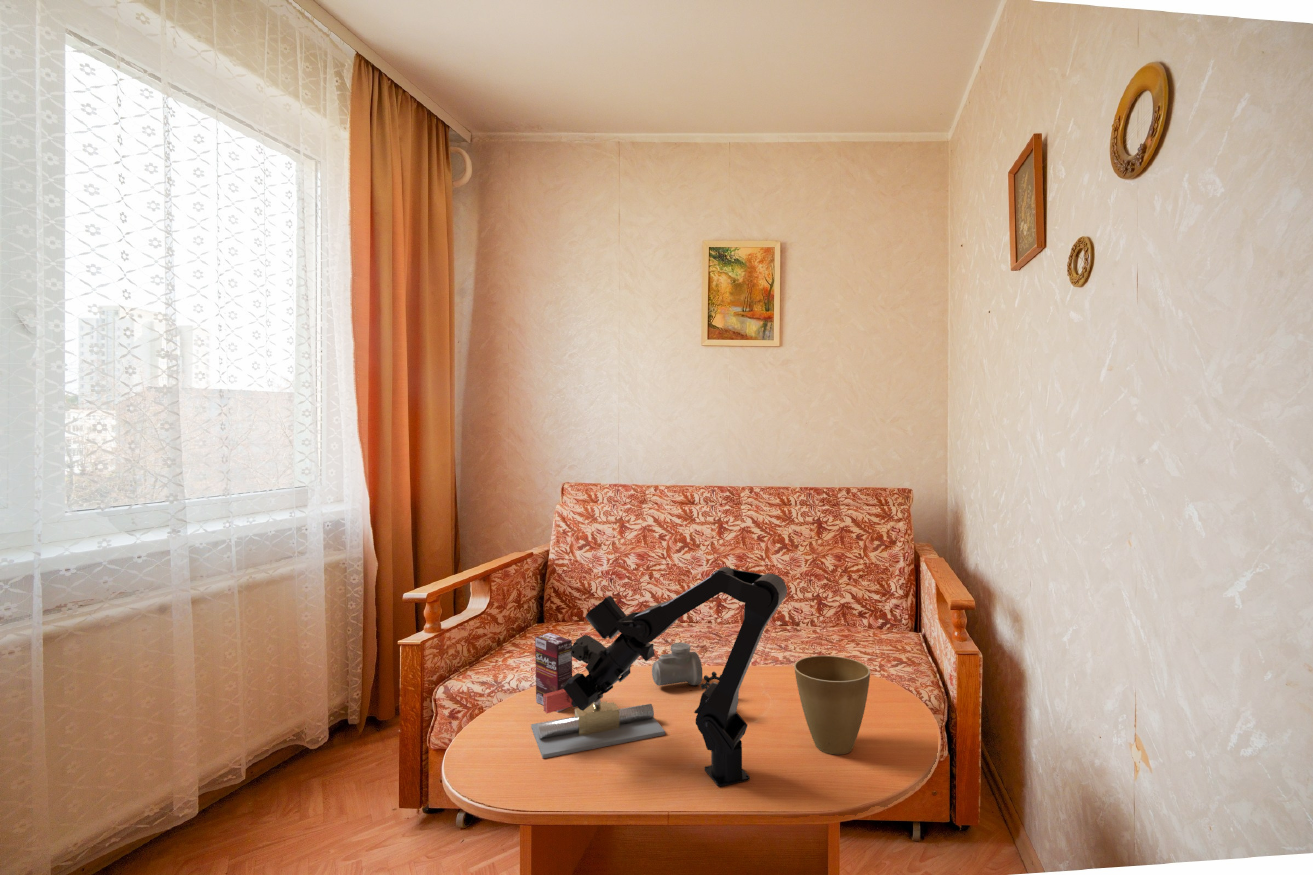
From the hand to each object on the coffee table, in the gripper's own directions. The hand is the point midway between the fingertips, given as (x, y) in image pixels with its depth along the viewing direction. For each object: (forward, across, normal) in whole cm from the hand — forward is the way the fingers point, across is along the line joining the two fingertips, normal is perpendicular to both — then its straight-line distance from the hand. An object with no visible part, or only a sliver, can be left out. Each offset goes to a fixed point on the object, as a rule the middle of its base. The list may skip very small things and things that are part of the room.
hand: (575, 703), depth 130 cm
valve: (-9, -26, +22) cm, 36 cm away
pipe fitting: (0, -35, +12) cm, 37 cm away
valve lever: (+1, -1, 0) cm, 2 cm away
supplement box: (+16, -14, -5) cm, 22 cm away
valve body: (+5, -6, +7) cm, 10 cm away
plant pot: (-28, -19, +41) cm, 53 cm away
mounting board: (+5, -6, +7) cm, 10 cm away
